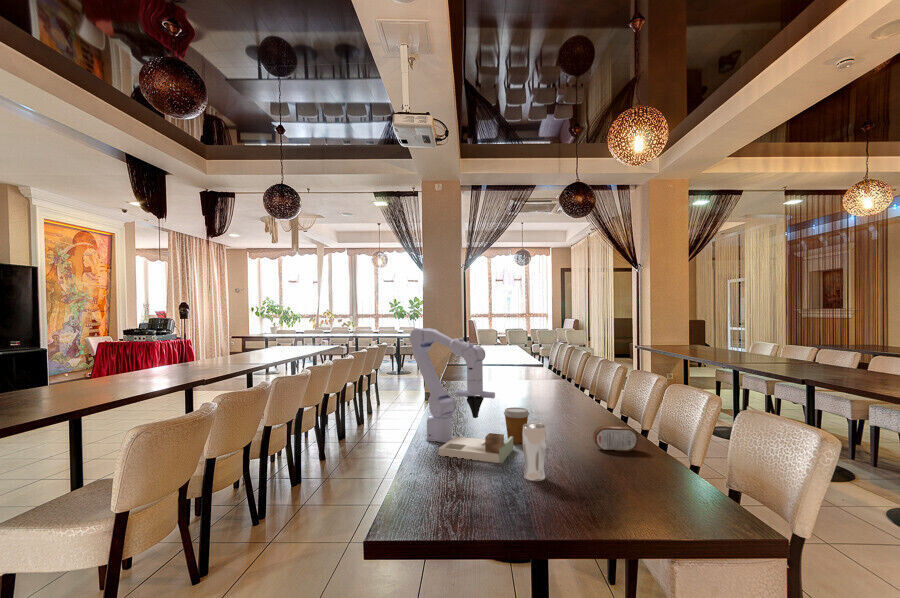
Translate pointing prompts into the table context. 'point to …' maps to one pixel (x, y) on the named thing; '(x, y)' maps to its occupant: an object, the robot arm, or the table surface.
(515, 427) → the disposable coffee cup
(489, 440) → the walnut block
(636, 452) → the table surface
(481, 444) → the trap board
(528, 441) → the beer glass
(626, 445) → the tin
